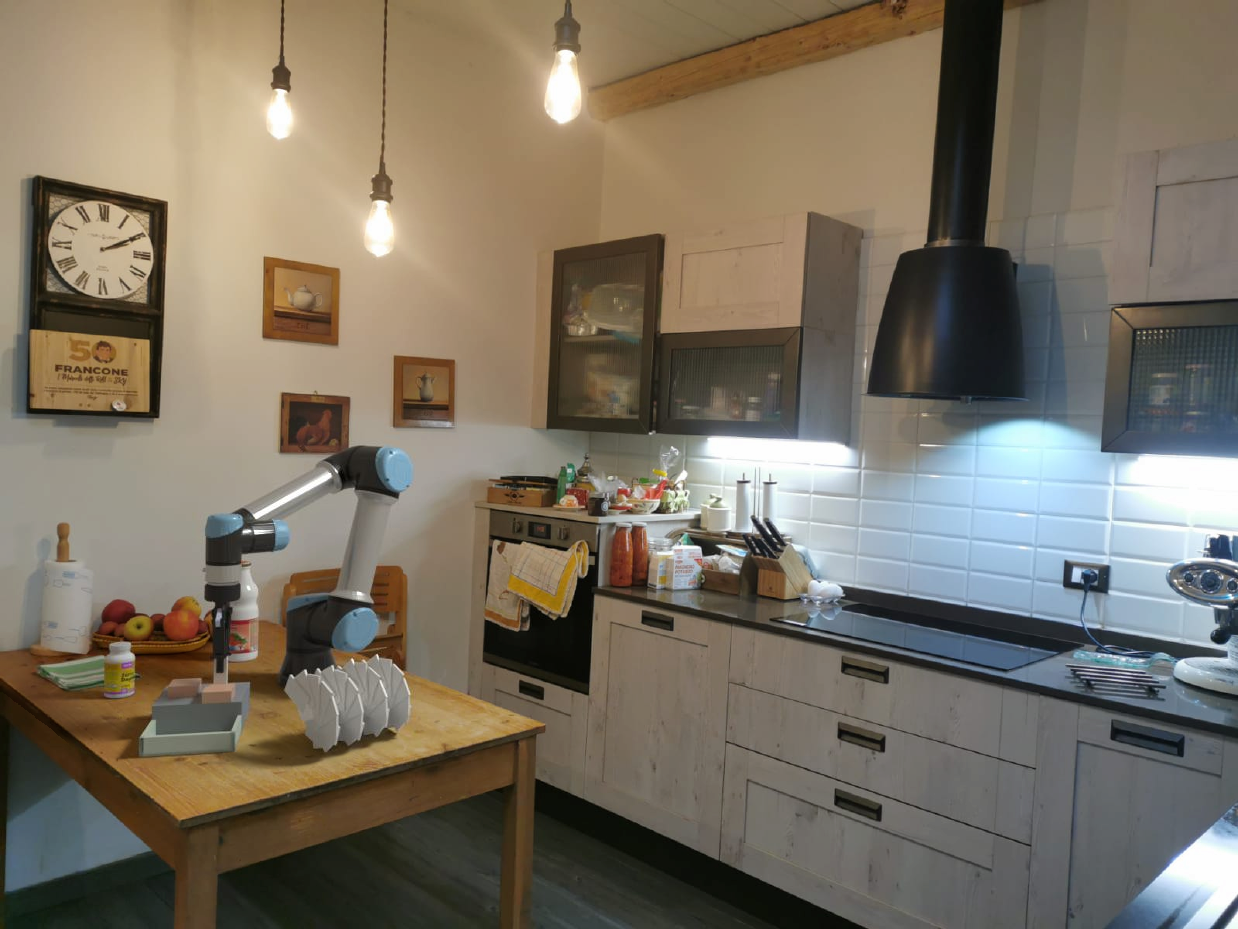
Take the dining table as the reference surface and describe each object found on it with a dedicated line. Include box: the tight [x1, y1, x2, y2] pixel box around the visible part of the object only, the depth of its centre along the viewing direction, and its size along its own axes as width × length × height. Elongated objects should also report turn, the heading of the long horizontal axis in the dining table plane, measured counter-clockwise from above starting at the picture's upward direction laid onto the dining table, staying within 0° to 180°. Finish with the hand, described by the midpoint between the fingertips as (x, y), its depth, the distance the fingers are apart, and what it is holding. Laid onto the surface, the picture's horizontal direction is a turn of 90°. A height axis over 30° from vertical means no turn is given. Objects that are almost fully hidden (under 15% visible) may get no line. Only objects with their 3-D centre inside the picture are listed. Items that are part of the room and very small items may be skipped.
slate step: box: [151, 681, 251, 735], centre depth 205 cm, size 18×16×7 cm
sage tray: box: [138, 715, 242, 758], centre depth 192 cm, size 18×12×4 cm, turn 106°
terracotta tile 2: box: [167, 677, 203, 698], centre depth 204 cm, size 6×6×2 cm
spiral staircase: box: [283, 653, 413, 753], centre depth 198 cm, size 18×18×25 cm
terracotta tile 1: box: [202, 683, 235, 704], centre depth 201 cm, size 6×6×2 cm
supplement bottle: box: [103, 641, 136, 699], centre depth 223 cm, size 7×7×13 cm
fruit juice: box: [227, 560, 260, 663], centre depth 260 cm, size 9×9×28 cm
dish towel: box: [35, 654, 142, 692], centre depth 239 cm, size 18×23×3 cm
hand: (220, 685), depth 205 cm, fingers closed
